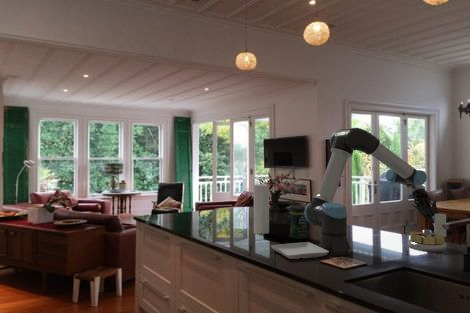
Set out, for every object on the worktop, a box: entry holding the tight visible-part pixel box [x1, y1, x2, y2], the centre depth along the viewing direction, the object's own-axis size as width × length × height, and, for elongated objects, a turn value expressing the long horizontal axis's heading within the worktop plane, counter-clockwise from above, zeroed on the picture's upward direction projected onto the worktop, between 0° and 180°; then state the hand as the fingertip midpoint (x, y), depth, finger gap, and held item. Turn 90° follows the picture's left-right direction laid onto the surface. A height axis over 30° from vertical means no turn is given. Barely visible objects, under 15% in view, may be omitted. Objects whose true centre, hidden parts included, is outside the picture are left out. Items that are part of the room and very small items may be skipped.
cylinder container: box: [253, 183, 270, 235], centre depth 237 cm, size 9×9×30 cm
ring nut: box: [409, 213, 447, 244], centre depth 194 cm, size 16×15×14 cm
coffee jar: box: [289, 205, 308, 240], centre depth 220 cm, size 10×8×19 cm
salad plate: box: [270, 241, 329, 260], centre depth 182 cm, size 21×21×3 cm
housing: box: [408, 229, 447, 253], centre depth 194 cm, size 17×17×9 cm
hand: (438, 228), depth 195 cm, fingers closed
